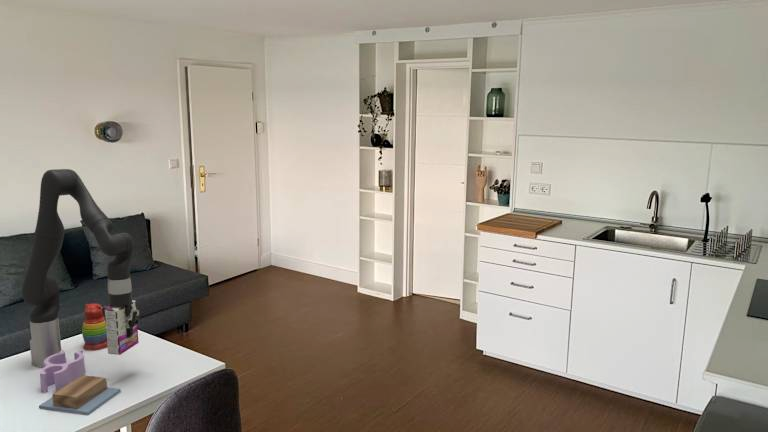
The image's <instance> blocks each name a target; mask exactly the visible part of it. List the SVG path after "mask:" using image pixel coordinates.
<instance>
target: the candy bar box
mask: <svg viewBox="0 0 768 432" xmlns="http://www.w3.org/2000/svg"><path fill="white" fill-rule="evenodd" d="M131 305H132V307H133V309H135V310H137V301H136V300H135V299H134V300H133V299H132V304H131ZM124 316H125V307H124V306H111V307H109V308H107V309H105V321H106V332H107V346H108V347H107V353H108V354H109V355H117V356H120V355H122V354H124V353H125V352H127V351H128V350H130V349H132V348H133V347H135V346H136V345H138V344H139V333H138V332H139V331H138V325H136V326H134V327H133V335H132V337H130V338H127V333H126V328H127V327H126V323H125V320H124ZM131 316H132V312H131ZM129 317H130V315H129V316H128V317H127V318H126V319H128V318H129Z"/></svg>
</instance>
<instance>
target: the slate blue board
mask: <svg viewBox="0 0 768 432" xmlns="http://www.w3.org/2000/svg"><path fill="white" fill-rule="evenodd" d="M121 392H122V390H121V388H116V387H115V388H114V387H110V386H109V387H107V389H106V390H105V391H103V392H102V393H100V394H99V395H97V396H96V397H94V398H93V399H92V400H90V401H89V402H87V403H86V404H84V405H83V406H81V407H80V408H78V409H74V408H66V407H59V406H53V398H52V397H50V398H49V399H47V400H46V401H44V402H42V403H40V404H39V405H38V409H39V408H40V409H41V410H46V411H47V410H48V411H55V412H60V413H61V412H62V413H71V414H75V415H76V414H77V415H84V416H89V415H91V414H92V413H93V412H95V411H96V410H97V409H99V408H100V407H102V406H103V405H104V404H106V403H107V402H109V401H110V400H111V399H113V398H114V397H115V396H117V395H118V394H120V393H121Z"/></svg>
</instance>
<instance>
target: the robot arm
mask: <svg viewBox="0 0 768 432" xmlns="http://www.w3.org/2000/svg"><path fill="white" fill-rule="evenodd" d="M39 189H40V193H39V206H38V215H37V219H36V226H35V229H34V235H33V240H32V248H31V253H30V258H29V261H28V265H27V266H28V267H27V270H26V273H25V277H24V279H23V283H22V287H21V296H22V299H23V301H24V303H26V304H27V305H30V306H34V308H33V309H32V310H31V312H30V313H29V316H28V317H29V318H28V319H29V326H30V327H29V328H30V334H31V339H30V340H29V348H30V358H31V365H34V366H35V367H37V368H44V367H45V366H44V360H45V359H46V358H47V357H49V356H51V355H54V354H57V353H60V351H61V350H62V342H61V332H60V324H59V323H60V322H59V311H60V309H61V308H60V307H61V303H60V302H61V301H60V287H59V284H58V281H57V280H56V279H55V277H53V276H52V275H49V274H48V273H49V270H50V268H51V267H52V265H53V263H54V262H55V260H56V258H57V257H58V256H59V254H60V252H61V250H62V246H63V242H64V238H65V227H64V226H65V225H64V223H63V222H62V219H61V218H60V215H59V213H58V204H59V198H60V196H68V195H69V196H70V197H72V198H73V199H74V200H75V201H76V203H77V204H78V206H79V216H80V218H81V221H82V222H83V224H84V225H85V226H86V227H87V228H88V230H89V231H90V232H92V234H93V236H94V238H95V240H96V242H97V244H98V247H99V249H100V251H101V252H102V253H103V254H105V256H109V257H114V259H113V260H111V261H110V262H108V264H107V269H106V270H107V293H108V294H107V296H108V298H107V299H108V304H109V305H106V306H104V307H103V308H102V312H103V315H102V316H103V317H104V319H105V309H107V308H109V307H111V306H124V307H125V316H124V320H125V323H126V327H127V328H126V333H127V338H130V337H132V335H133V327H134V326H136V325H137V326H138V325H139V320H140V315H141V309H136V310H135V309H133V307H132V305H131V304H132V300H133V289H132V281H131V267H130V266H131V261H132V257H133V252H134V247H135V246H134V244H135V243H134V240H133V237H132V236H131V234H129V233H127V232H118V233H115V234H111V233H112V231H113V230H114V227H115V226H114V225H115V224H113V222H112V221H111V219H110V218H109V217H108V216H107V215H106V214H105V213H104V212H103V211H102V209H101V208H100V207H99V205H97V203H96V201H95V199H94V198H93V197H92V194H91V193H90V192H89V190H88V188H87V186H86V185H85V183H84V182H83V180H82V179H81V177H80V176H79V175H78V173H77V172H76V171H74V170H73V169H69V168H61V169H60V168H59V169H48V170H46V171H45V172H44V173H43V175H42V177H41V180H40V188H39ZM131 312H132V316H131ZM129 315H130V317H129V318H128V319H126V318H127V317H128V316H129ZM105 323H106V321H105Z"/></svg>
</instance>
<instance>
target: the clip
mask: <svg viewBox="0 0 768 432" xmlns="http://www.w3.org/2000/svg"><path fill="white" fill-rule="evenodd" d="M73 354H74V356H73V357H74V359H73V361H69V362H67V357H66V356H67V355H66V351H65V350H64V349H63V350H62V349H61V351H60V353H57V354H54V355H51V356H49V357H47V358H46V359H45V360H44V366H45V367H41V369H40V370H39V381H40V389H41V392H42V393H46V394H47V393H48V392H49V387H51V386H54V390H55V391H54V392H56V391H58V390H60V389H61V388H63V387H64V386H66V385H68V384H69V383H71V382H73V381H74V380H76V379H77V378H79V377H81V376H82V375H86V367H85V365H86V364H85V355H84V349H78V350H76V351H74V352H73Z"/></svg>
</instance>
